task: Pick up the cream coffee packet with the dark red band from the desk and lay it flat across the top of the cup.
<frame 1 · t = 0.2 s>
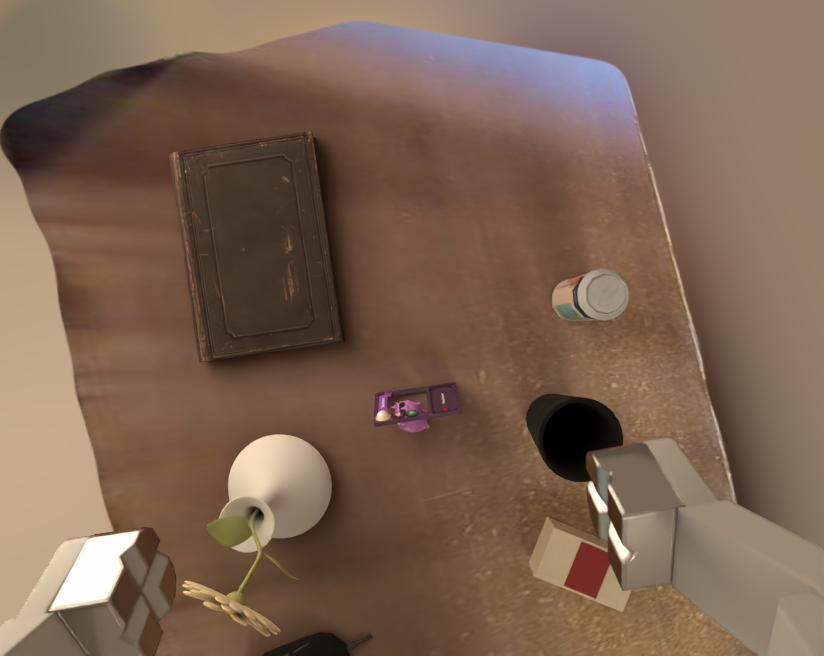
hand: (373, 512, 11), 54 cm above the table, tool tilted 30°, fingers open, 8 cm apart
flower in vase: (288, 487, 65), on the table
hardcover book: (260, 250, 65), on the table
cup: (550, 418, 65), on the table
purple toy figure frame: (418, 408, 65), on the table
beer can: (571, 300, 65), on the table
packet: (579, 556, 64), on the table
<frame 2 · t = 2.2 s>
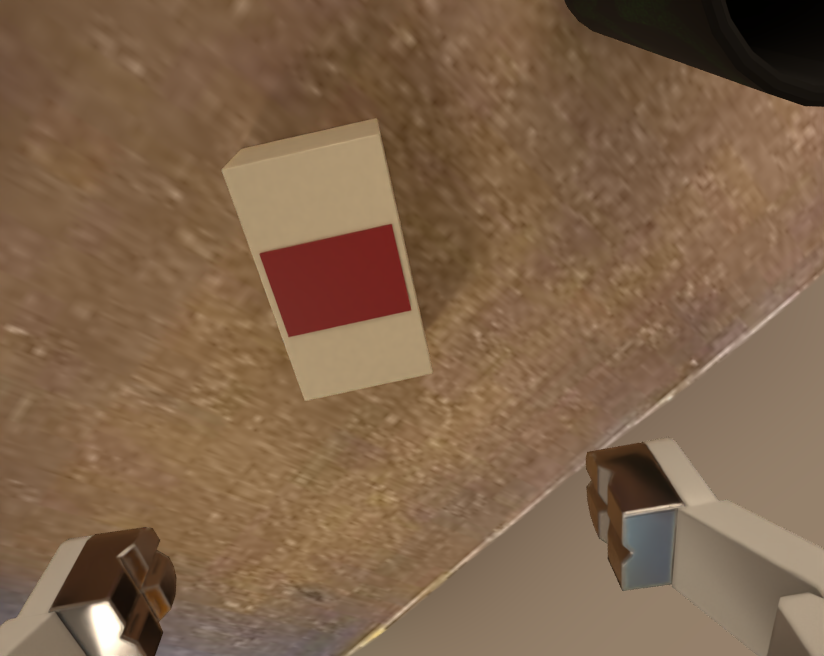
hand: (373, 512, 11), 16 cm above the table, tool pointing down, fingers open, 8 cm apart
packet: (340, 249, 25), on the table
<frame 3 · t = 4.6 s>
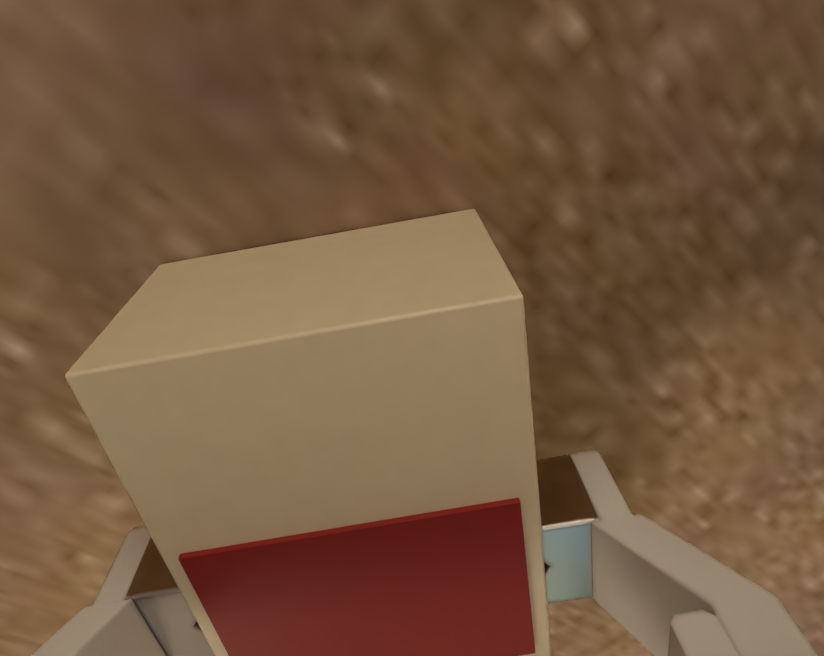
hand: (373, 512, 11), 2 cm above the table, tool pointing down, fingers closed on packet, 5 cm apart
packet: (372, 455, 12), on the table, touching gripper
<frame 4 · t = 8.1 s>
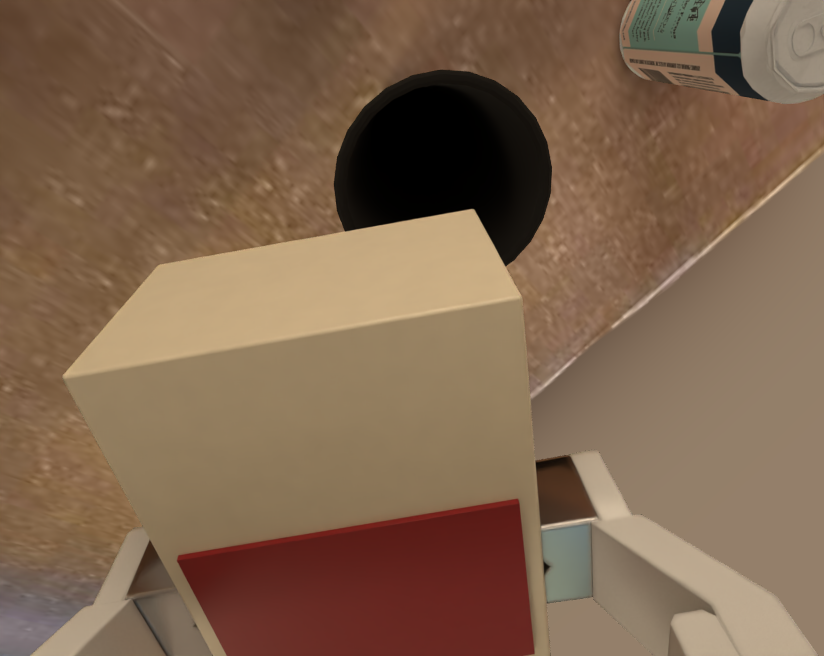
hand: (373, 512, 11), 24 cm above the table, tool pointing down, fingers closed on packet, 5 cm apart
cup: (416, 134, 31), on the table
beer can: (659, 29, 30), on the table
packet: (371, 455, 12), point 22 cm above the table, touching gripper
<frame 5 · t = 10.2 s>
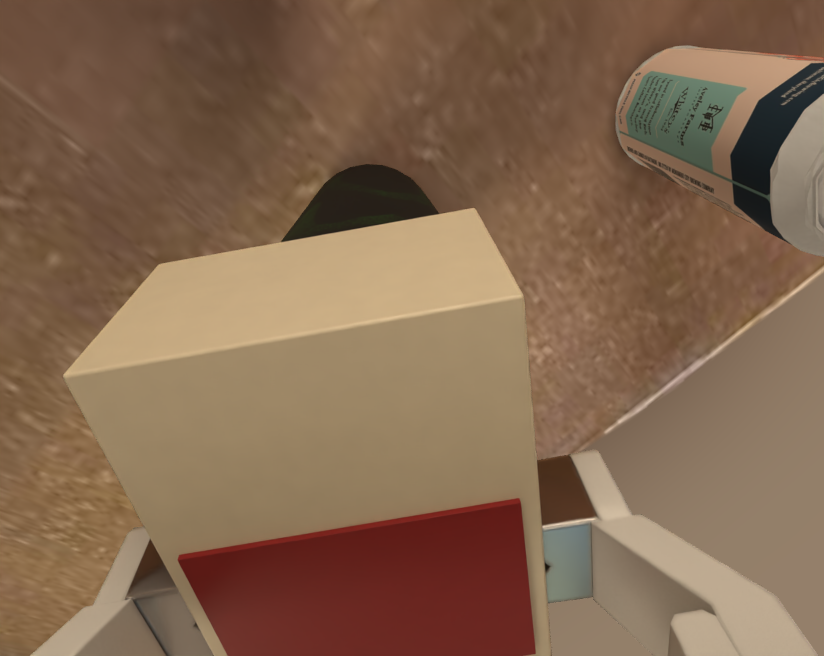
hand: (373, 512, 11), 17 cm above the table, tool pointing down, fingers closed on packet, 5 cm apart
cup: (371, 225, 26), on the table
beer can: (664, 107, 24), on the table
packet: (371, 455, 12), point 15 cm above the table, touching gripper
when the fingers open (14 cm above the table, at t = 11.7 s): packet stays where it is, resting on cup.
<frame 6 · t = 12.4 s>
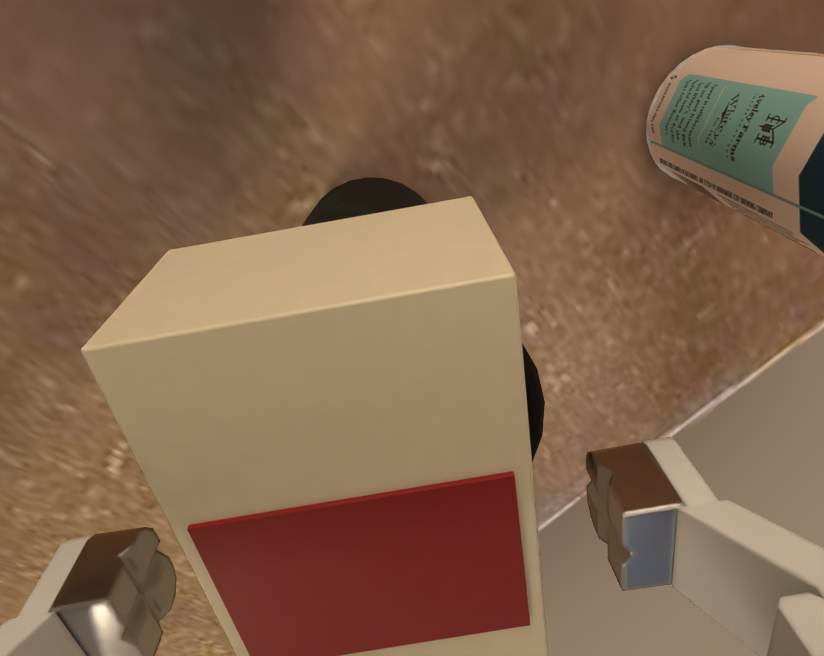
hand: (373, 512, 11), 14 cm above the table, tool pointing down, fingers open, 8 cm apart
cup: (373, 244, 23), on the table, touching packet
beer can: (700, 114, 22), on the table
packet: (373, 437, 13), point 12 cm above the table, touching cup
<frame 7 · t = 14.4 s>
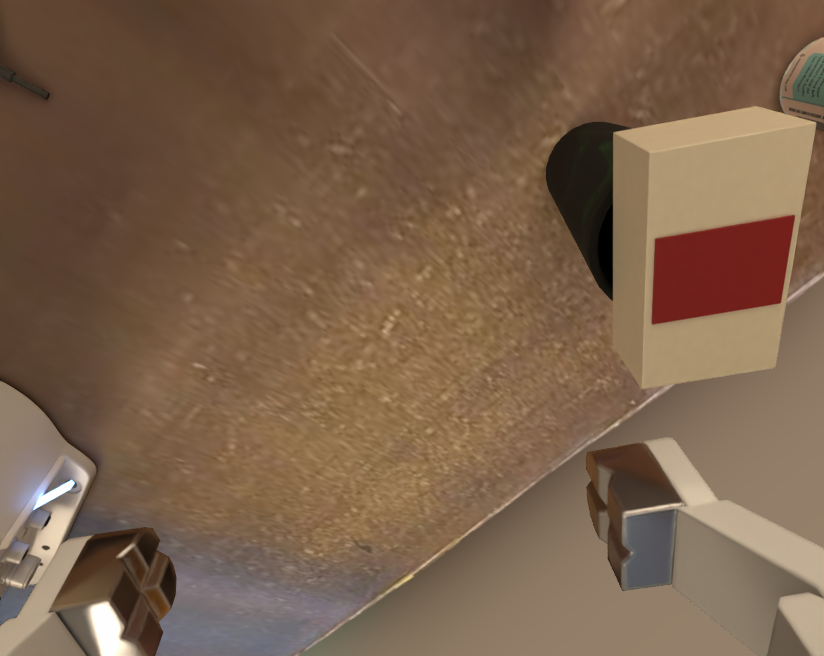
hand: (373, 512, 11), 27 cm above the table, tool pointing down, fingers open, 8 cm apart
cup: (589, 168, 36), on the table, touching packet
beer can: (813, 79, 34), on the table
packet: (677, 238, 25), point 12 cm above the table, touching cup
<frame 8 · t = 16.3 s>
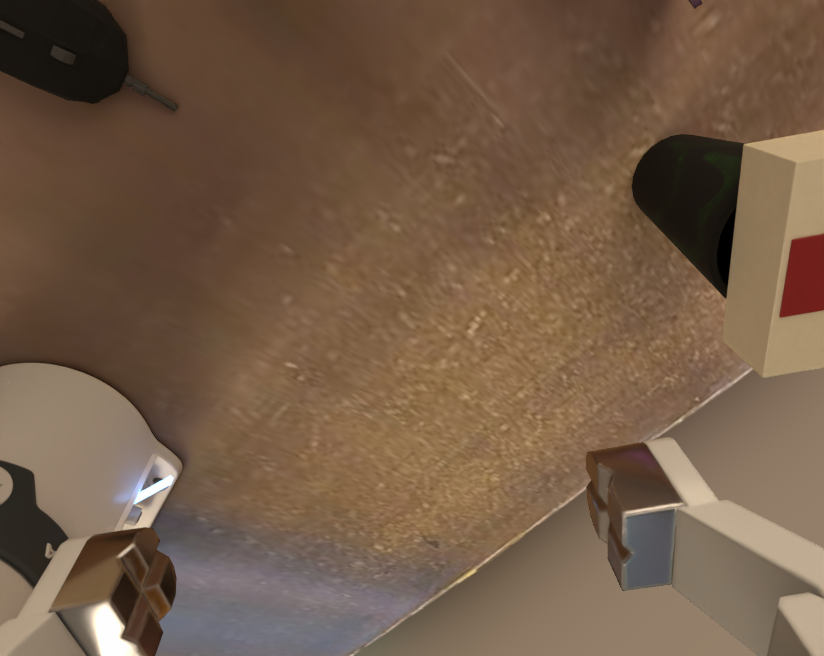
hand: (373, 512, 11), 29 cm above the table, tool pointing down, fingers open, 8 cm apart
cup: (672, 177, 38), on the table, touching packet
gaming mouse: (51, 29, 32), on the table
packet: (789, 240, 27), point 12 cm above the table, touching cup
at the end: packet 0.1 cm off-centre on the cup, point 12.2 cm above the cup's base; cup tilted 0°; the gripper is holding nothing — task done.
